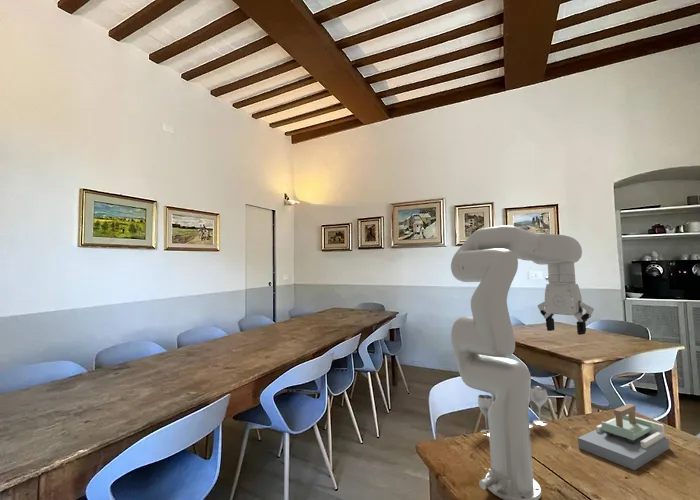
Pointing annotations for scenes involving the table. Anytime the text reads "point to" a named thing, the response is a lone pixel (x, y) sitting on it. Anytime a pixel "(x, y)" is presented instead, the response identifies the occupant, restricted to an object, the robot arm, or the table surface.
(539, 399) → the goblet set
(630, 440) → the mint green tray
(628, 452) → the dock
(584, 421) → the table surface
